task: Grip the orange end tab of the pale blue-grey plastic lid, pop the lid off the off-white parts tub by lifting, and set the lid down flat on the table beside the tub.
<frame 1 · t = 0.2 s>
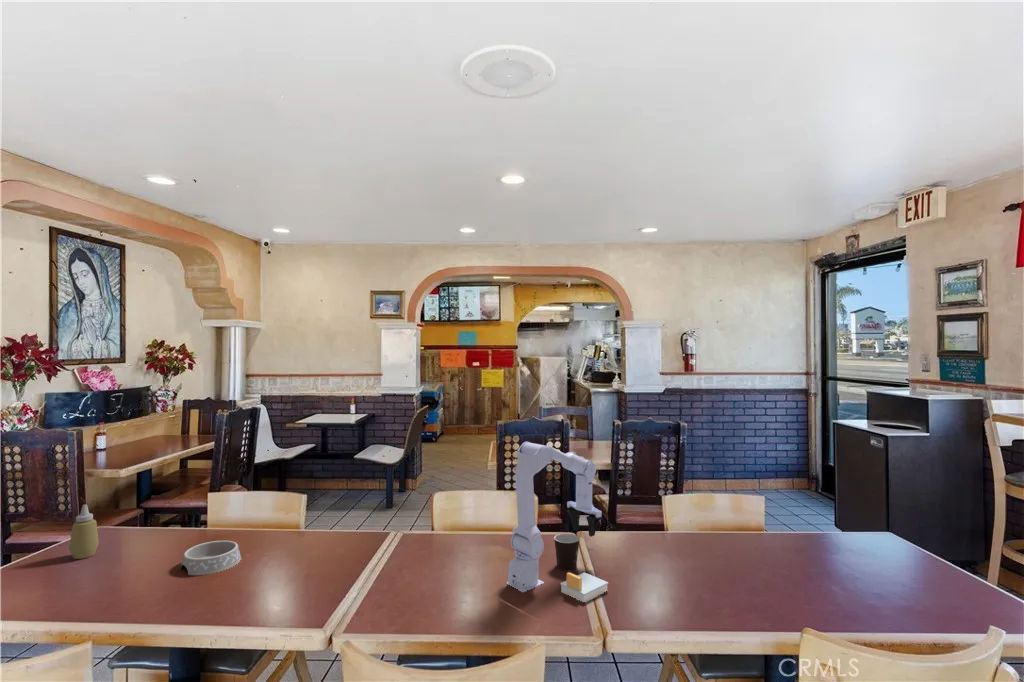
hand: (583, 532, 182), 10 cm above the table, tool pointing down, fingers open, 7 cm apart
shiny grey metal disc: (582, 594, 157), resting on tub
tub: (584, 592, 159), on the table
squeeze bottle: (84, 556, 183), on the table
dog bowl: (211, 565, 178), on the table
grey shiny rounded part: (585, 587, 162), resting on tub
lid: (584, 587, 159), point 2 cm above the table, touching tub
coffee mug: (568, 566, 178), on the table
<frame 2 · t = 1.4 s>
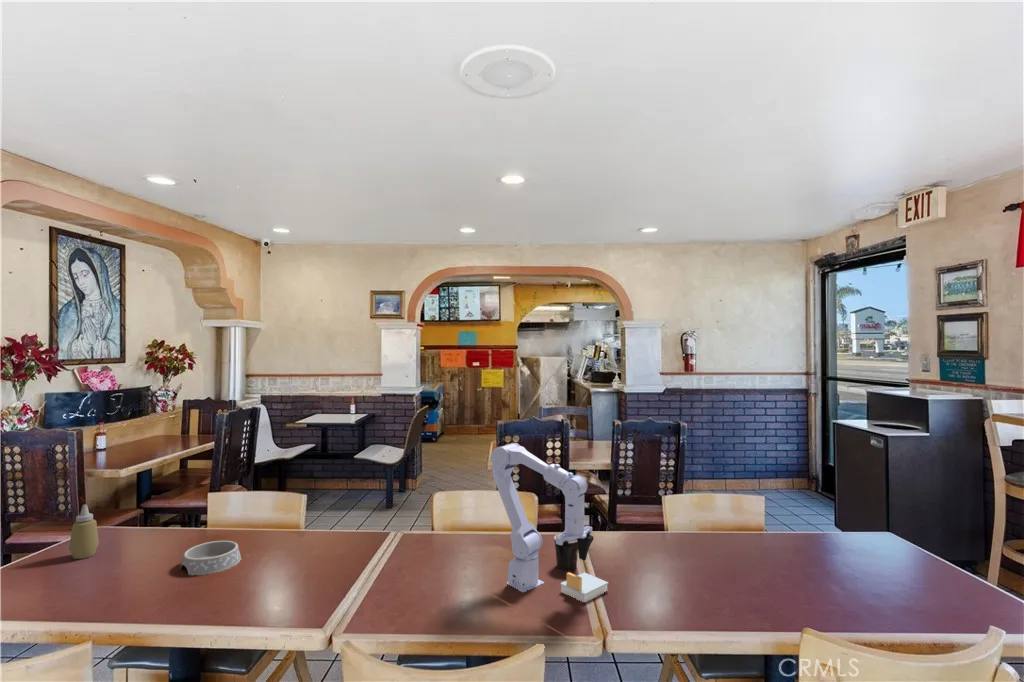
hand: (574, 562, 156), 10 cm above the table, tool pointing down, fingers open, 7 cm apart
nothing on the table moved.
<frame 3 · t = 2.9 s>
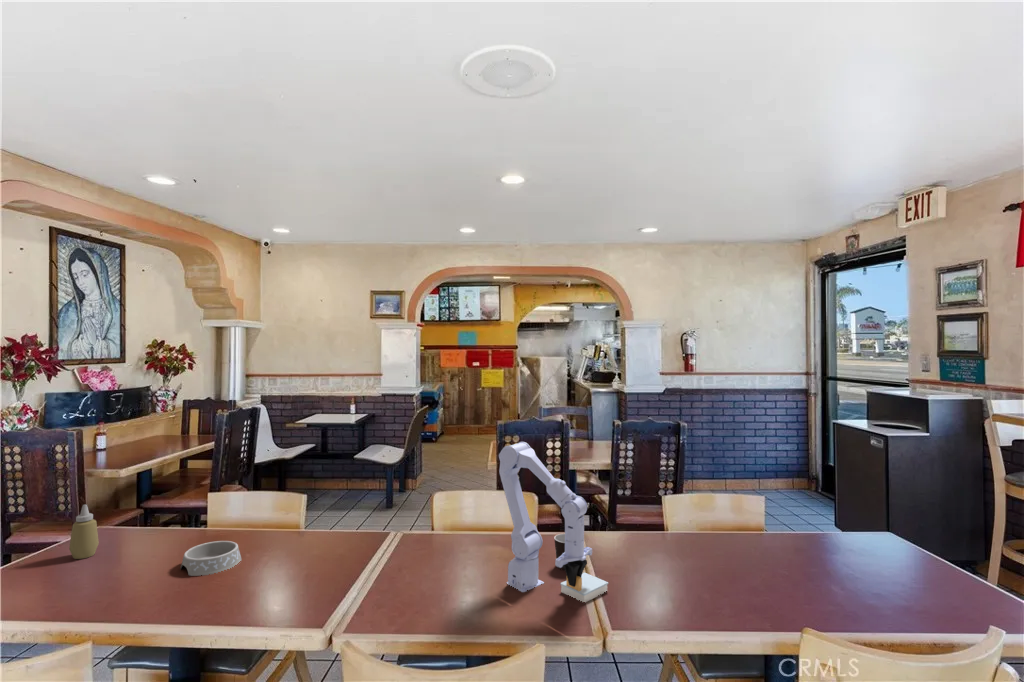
hand: (574, 584, 156), 4 cm above the table, tool pointing down, fingers closed on lid
lid: (584, 587, 159), point 2 cm above the table, touching gripper, tub
everything else where it was.
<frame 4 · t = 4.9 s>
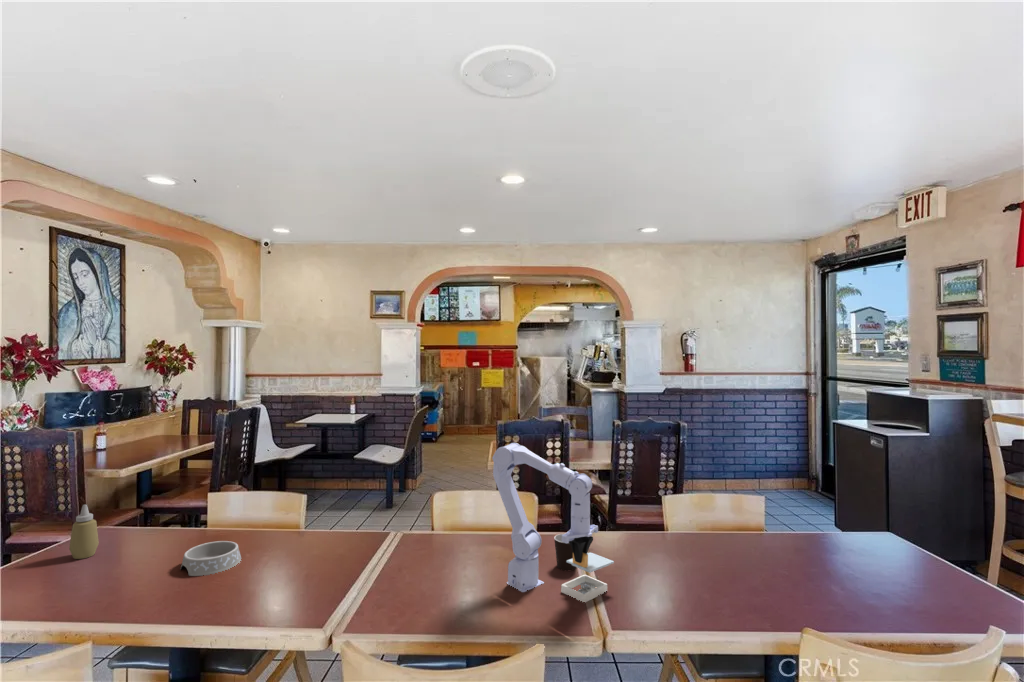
hand: (580, 560, 157), 10 cm above the table, tool pointing down, fingers closed on lid
lid: (590, 565, 160), point 8 cm above the table, touching gripper
everything else where it was.
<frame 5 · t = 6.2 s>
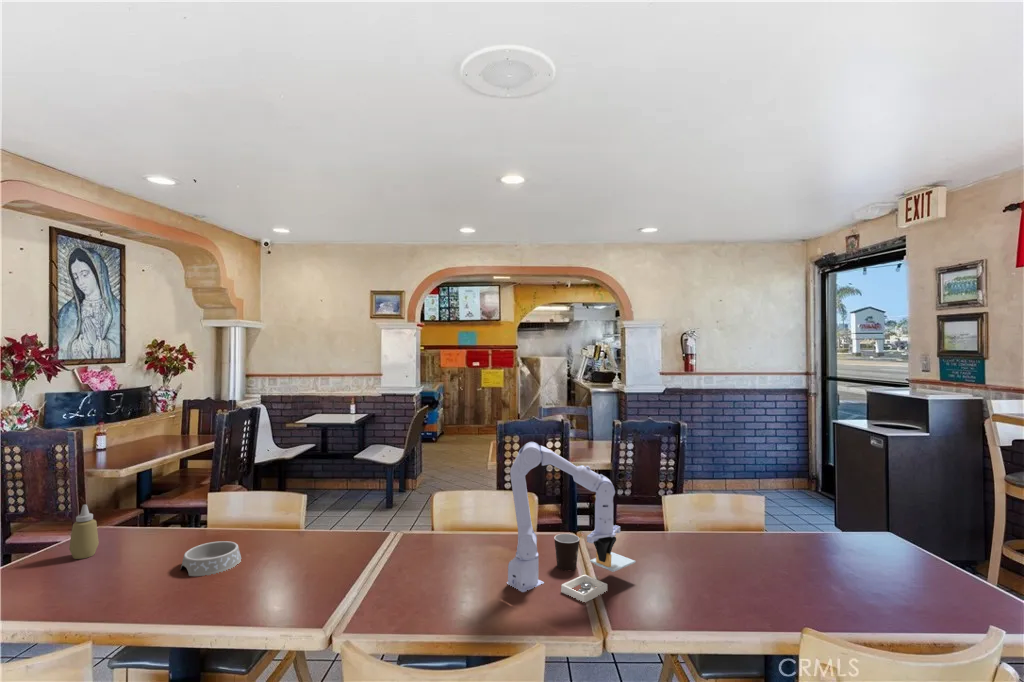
hand: (603, 560, 164), 8 cm above the table, tool pointing down, fingers closed on lid
lid: (612, 564, 167), point 5 cm above the table, touching gripper
everything else where it was.
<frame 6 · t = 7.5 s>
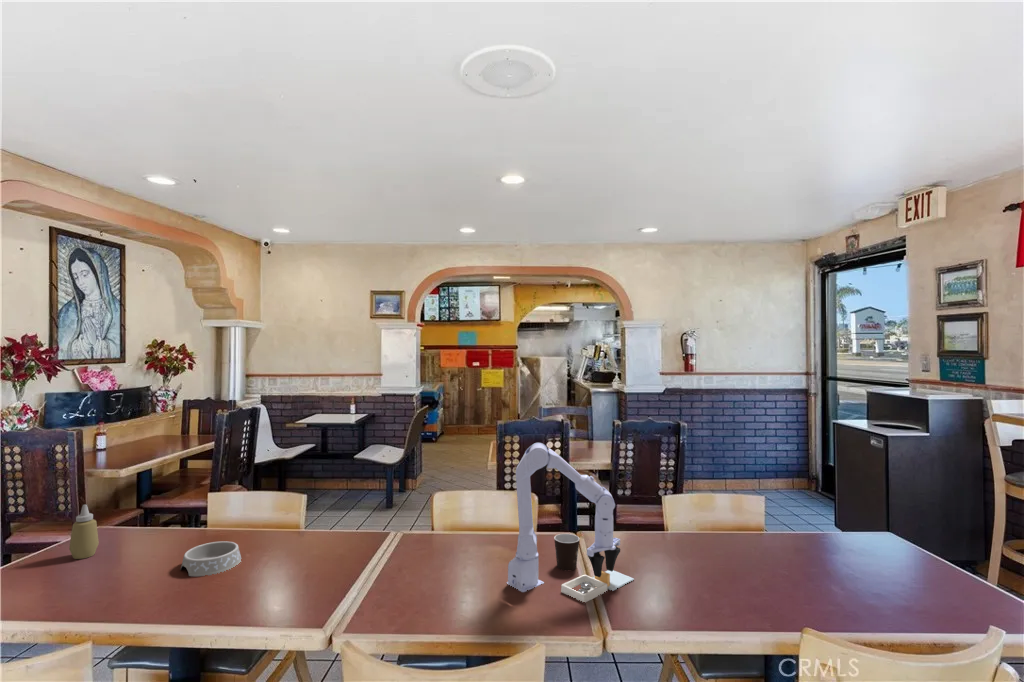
hand: (603, 573, 164), 4 cm above the table, tool pointing down, fingers open, 6 cm apart
lid: (611, 582, 167), on the table
everything else where it was.
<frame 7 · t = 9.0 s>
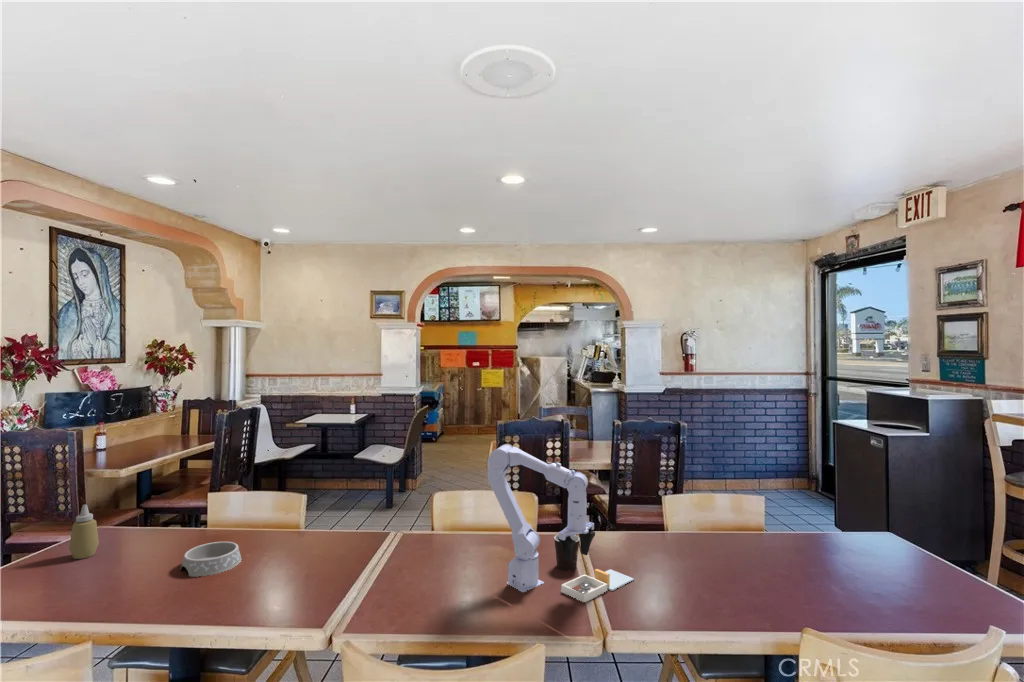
hand: (576, 557, 160), 10 cm above the table, tool pointing down, fingers open, 7 cm apart
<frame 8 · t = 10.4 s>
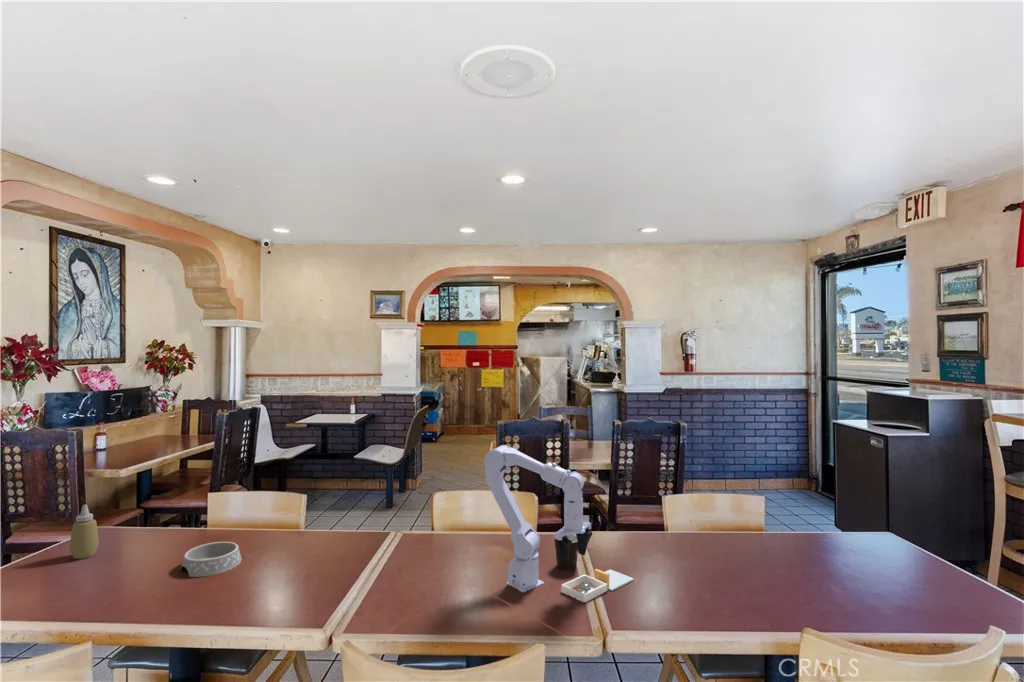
hand: (573, 557, 160), 10 cm above the table, tool pointing down, fingers open, 7 cm apart
at the end: lid touching table; lid inside the target area (0.7 cm from its centre), on the table; lid tilted 0° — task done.
